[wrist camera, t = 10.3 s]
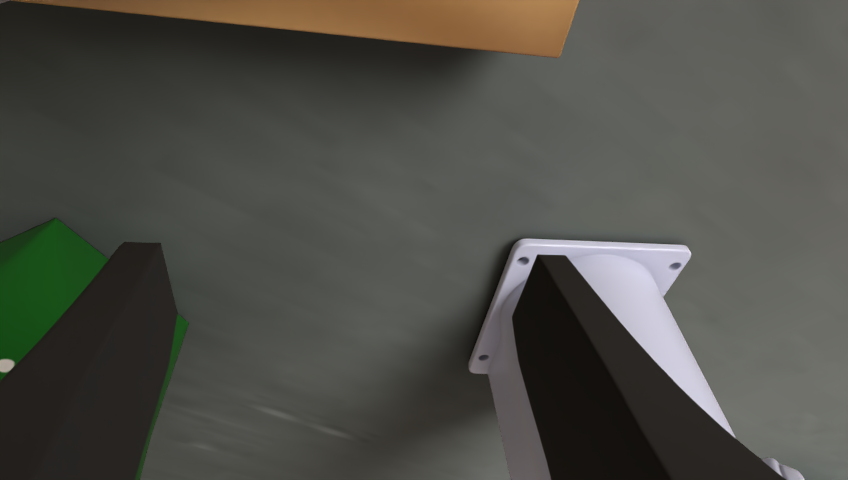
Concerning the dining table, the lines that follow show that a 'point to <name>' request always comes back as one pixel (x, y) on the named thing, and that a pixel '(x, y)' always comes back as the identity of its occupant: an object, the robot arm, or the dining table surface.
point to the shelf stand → (381, 19)
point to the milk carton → (51, 293)
